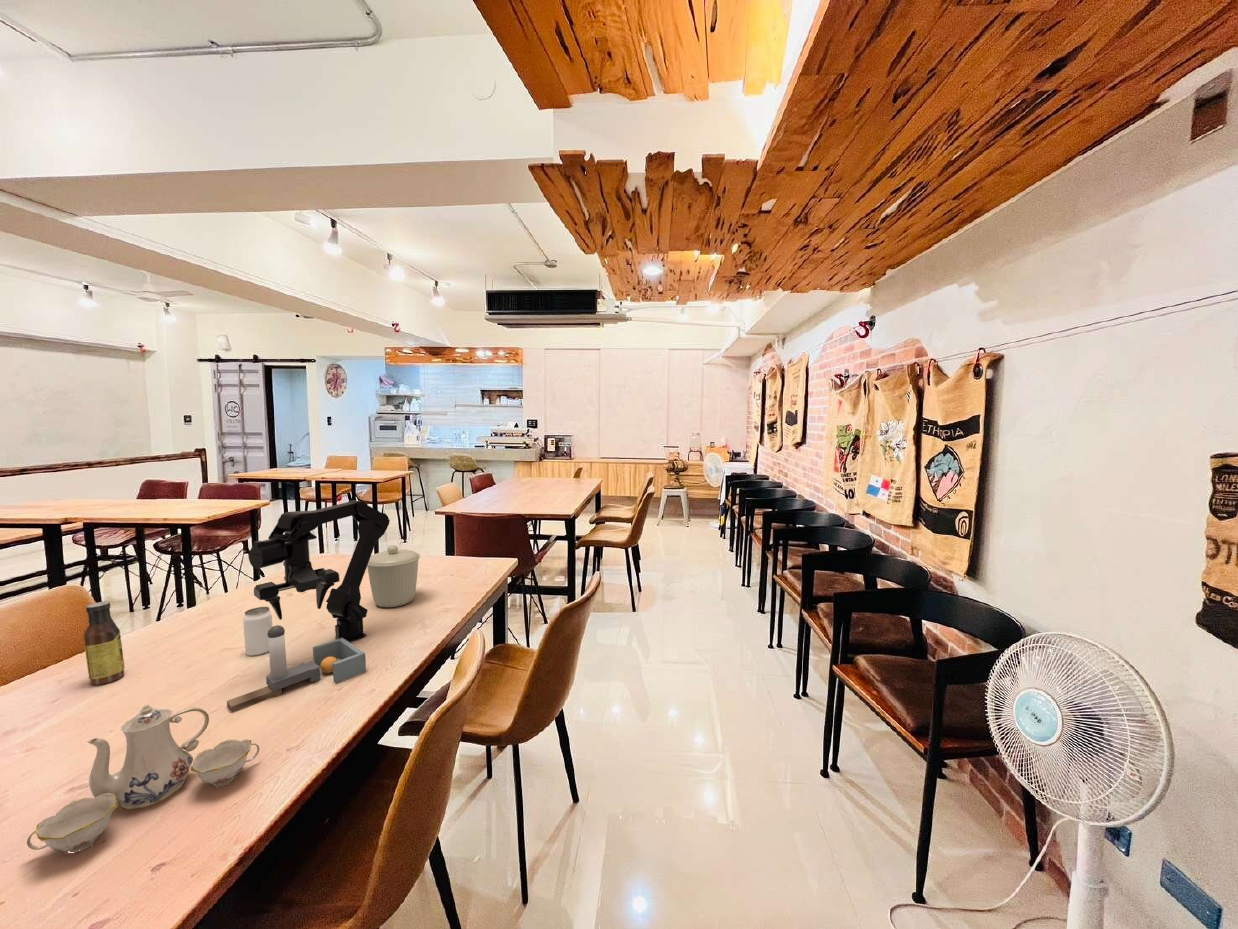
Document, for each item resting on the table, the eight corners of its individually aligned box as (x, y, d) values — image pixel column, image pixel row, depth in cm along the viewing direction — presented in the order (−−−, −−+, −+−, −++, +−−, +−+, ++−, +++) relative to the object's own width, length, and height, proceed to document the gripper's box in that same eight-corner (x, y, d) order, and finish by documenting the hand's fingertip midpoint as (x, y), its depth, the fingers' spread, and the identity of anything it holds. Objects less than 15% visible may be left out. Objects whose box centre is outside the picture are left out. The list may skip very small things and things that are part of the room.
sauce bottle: (131, 675, 123) (123, 601, 121) (98, 688, 117) (90, 610, 115) (115, 671, 125) (108, 598, 123) (82, 683, 119) (74, 607, 117)
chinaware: (36, 900, 67) (24, 797, 65) (22, 831, 76) (11, 738, 74) (268, 778, 90) (266, 698, 88) (236, 736, 99) (233, 663, 97)
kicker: (312, 672, 124) (309, 613, 122) (320, 679, 121) (316, 618, 119) (266, 689, 116) (262, 626, 115) (273, 696, 113) (269, 631, 112)
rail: (276, 688, 117) (276, 682, 117) (281, 693, 115) (281, 688, 115) (227, 706, 110) (226, 700, 109) (231, 712, 107) (231, 706, 107)
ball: (316, 671, 124) (332, 668, 127) (322, 676, 122) (339, 673, 125) (319, 655, 124) (335, 653, 128) (325, 660, 122) (341, 658, 125)
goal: (343, 654, 134) (342, 637, 134) (366, 671, 125) (365, 653, 125) (313, 665, 128) (312, 647, 128) (335, 683, 119) (334, 664, 119)
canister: (432, 599, 175) (430, 543, 173) (385, 616, 160) (383, 555, 158) (402, 590, 185) (400, 537, 183) (356, 605, 170) (353, 547, 168)
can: (258, 657, 132) (255, 616, 131) (239, 655, 133) (236, 614, 132) (279, 646, 138) (276, 607, 137) (261, 644, 140) (258, 605, 139)
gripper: (264, 572, 116) (269, 634, 118) (346, 556, 131) (349, 610, 132) (251, 564, 123) (255, 622, 125) (330, 549, 138) (332, 601, 139)
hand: (300, 613), depth 130 cm, fingers open, 9 cm apart
